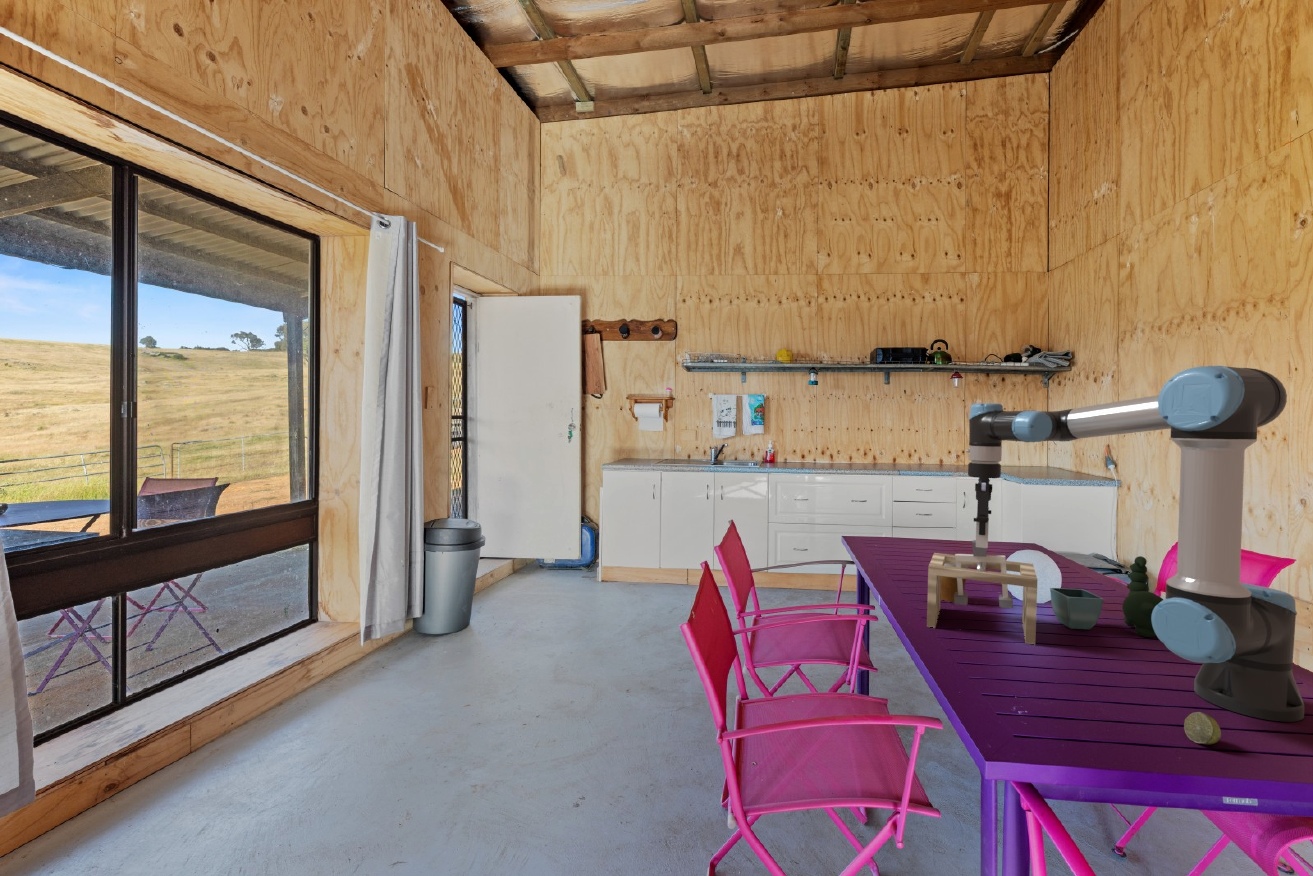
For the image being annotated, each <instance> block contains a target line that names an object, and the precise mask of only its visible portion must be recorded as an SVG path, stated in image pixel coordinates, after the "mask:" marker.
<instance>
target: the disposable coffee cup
mask: <svg viewBox="0 0 1313 876" xmlns="http://www.w3.org/2000/svg"><path fill="white" fill-rule="evenodd" d="M944 566H949V567H956V565H955V564H946V563H945V564H944ZM961 568H966V569H970V566H963V565H961ZM966 580H967V579H962V582H963V592H964V591H965V587H966ZM955 592H958V586H957V578H954V577H946V576H941V601H942V600H945V601H950V602H954V594H955ZM964 593H965V592H964ZM945 601H944V602H945ZM950 602H949V603H950Z"/></svg>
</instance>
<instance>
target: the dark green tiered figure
mask: <svg viewBox="0 0 1313 876" xmlns="http://www.w3.org/2000/svg"><path fill="white" fill-rule="evenodd" d="M1133 562H1134V563H1132V564H1130V565H1129V568H1130V571H1131V572H1129V573H1127V577H1128V579H1130V581H1129V583H1128V584H1127V585H1126V588H1127V589H1129V592H1128V594H1127V596H1126V597H1125V598H1124V600H1123V601H1122V602H1123V603H1122V607H1121V608H1122V613H1123V615H1124V618H1123V620H1124V623H1125V625H1127V626H1128V627H1134V631H1135V633H1136V634H1137V635H1138V636H1141V637H1142V636H1143V638H1148V637H1149V638H1150V637H1151V638H1154V637H1157V635H1156V633H1155V631H1154V629H1153V626H1152V621H1151V616H1152V612H1153V609H1154V608H1155V606H1156V605H1158V604H1159V603H1160V602H1161V601H1162V600H1164V599H1165V598H1164V599H1163V598H1162V596H1160V595H1158V594H1156V593H1153V592H1151V591H1149V590H1150V588H1149V585H1148V584H1147V582H1148V581H1149V579H1150V578H1149V576H1148V574H1147V573H1148V567H1147V566H1146V565H1147V562H1148V561H1147V558H1146V557H1144V556H1141V555H1140V556H1137V557H1135V558H1134V561H1133ZM1149 638H1148V639H1149Z"/></svg>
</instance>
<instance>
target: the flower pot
mask: <svg viewBox="0 0 1313 876" xmlns="http://www.w3.org/2000/svg"><path fill="white" fill-rule="evenodd" d="M1049 591H1050V601H1051V608H1052V611H1053V613H1054V616H1055V617H1056V619H1057V620H1058V622H1059V623H1061V624H1062V625H1064V626H1066V627H1067V628H1069V629H1073V630H1075V629H1076V630H1091V629H1092V628H1093V627H1094V626H1095V625H1097V622H1098V621H1099V619H1100V617H1101V613H1102V608H1103V604H1104V598H1103V597H1101V596H1099V595H1096V594H1095V593H1092V592H1090V591H1088V590H1085V589H1082V588H1067V587H1066V588H1065V587H1049Z"/></svg>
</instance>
